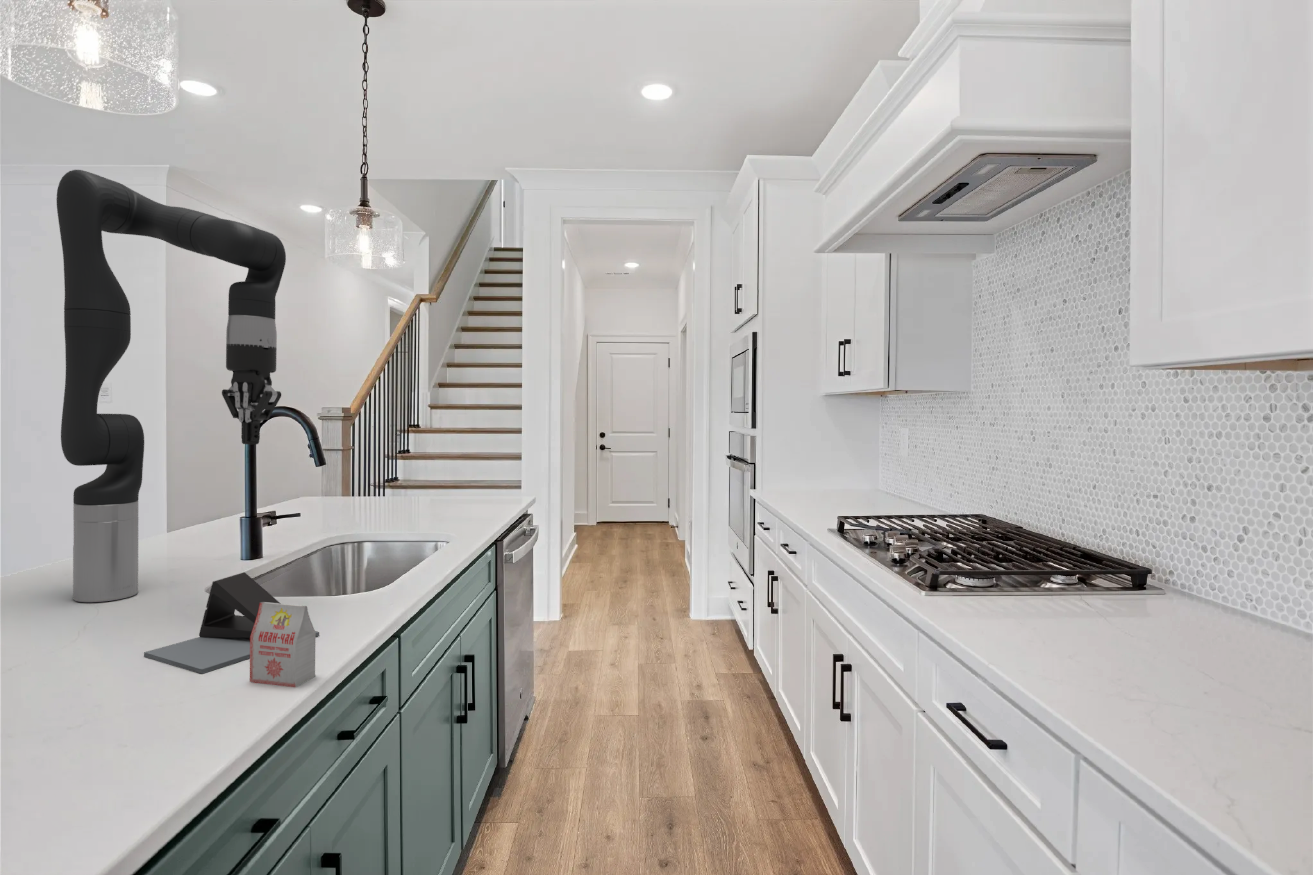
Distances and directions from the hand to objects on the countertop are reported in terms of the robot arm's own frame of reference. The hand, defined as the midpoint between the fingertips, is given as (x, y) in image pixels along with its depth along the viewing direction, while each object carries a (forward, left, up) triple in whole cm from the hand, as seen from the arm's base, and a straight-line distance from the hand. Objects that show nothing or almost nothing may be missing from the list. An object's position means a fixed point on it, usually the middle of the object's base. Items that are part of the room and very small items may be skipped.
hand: (250, 444), depth 120 cm
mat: (+16, -13, -29) cm, 35 cm away
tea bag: (+33, -18, -29) cm, 48 cm away
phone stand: (+10, -11, -24) cm, 28 cm away
